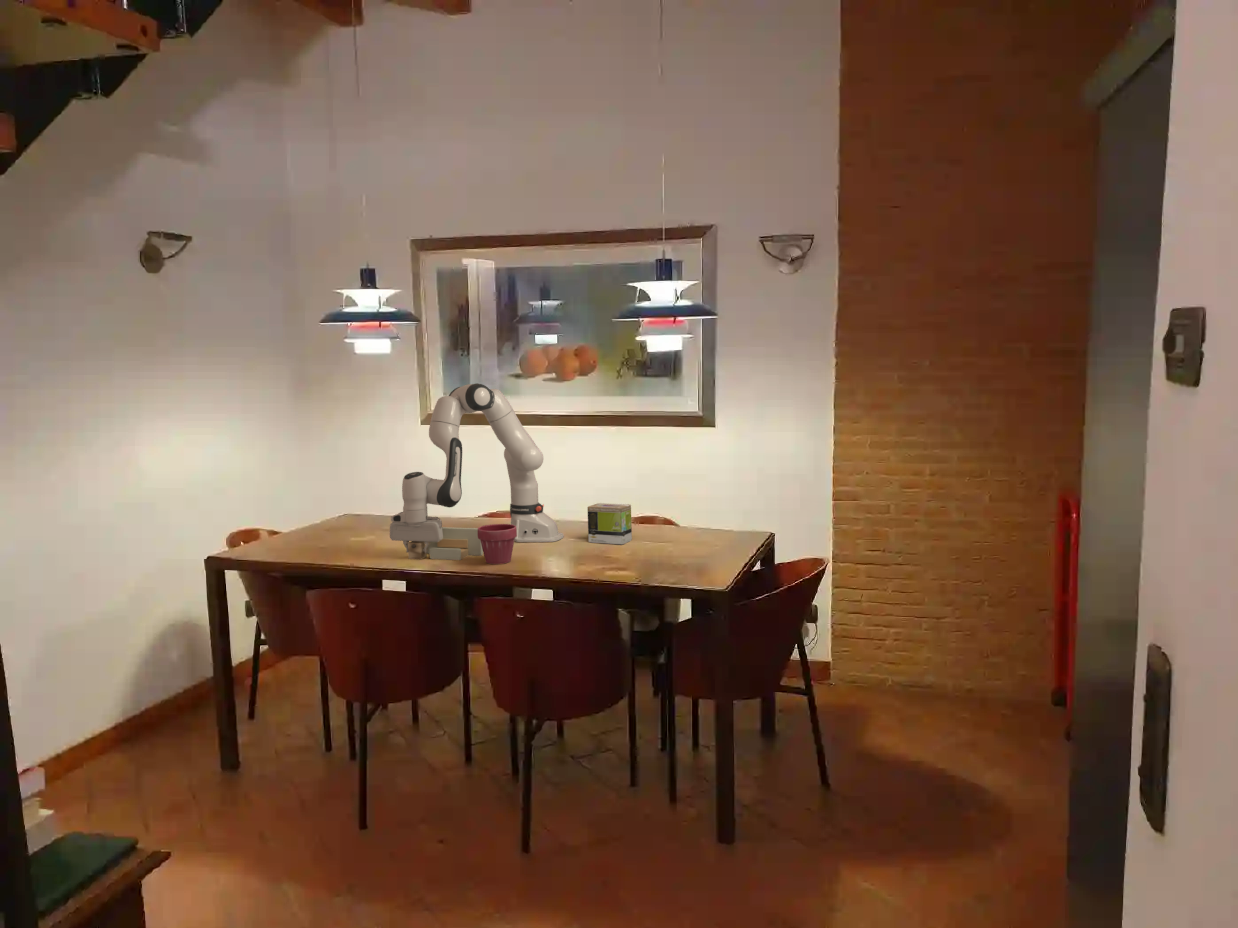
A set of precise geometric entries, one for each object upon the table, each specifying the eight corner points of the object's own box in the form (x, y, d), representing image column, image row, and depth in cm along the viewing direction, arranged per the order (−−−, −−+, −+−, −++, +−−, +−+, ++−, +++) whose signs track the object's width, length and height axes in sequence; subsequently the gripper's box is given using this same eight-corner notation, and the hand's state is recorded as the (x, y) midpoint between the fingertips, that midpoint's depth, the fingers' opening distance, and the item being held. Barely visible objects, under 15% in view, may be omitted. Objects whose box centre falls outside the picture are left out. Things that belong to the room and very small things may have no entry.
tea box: (632, 540, 372) (631, 503, 370) (622, 545, 363) (621, 508, 361) (598, 537, 378) (597, 501, 376) (587, 542, 369) (586, 505, 367)
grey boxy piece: (483, 554, 351) (482, 528, 350) (472, 560, 341) (471, 533, 340) (429, 552, 356) (427, 526, 355) (417, 558, 346) (416, 531, 345)
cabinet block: (426, 556, 349) (425, 540, 348) (419, 559, 344) (419, 543, 343) (413, 556, 350) (413, 540, 349) (407, 559, 345) (406, 543, 344)
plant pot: (480, 557, 346) (479, 523, 344) (518, 556, 347) (517, 522, 345) (477, 566, 331) (475, 531, 330) (516, 565, 332) (515, 530, 331)
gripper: (445, 515, 346) (446, 551, 348) (394, 513, 351) (396, 549, 353) (437, 518, 340) (439, 555, 342) (386, 517, 345) (388, 553, 346)
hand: (417, 552), depth 347 cm, fingers closed on cabinet block, 5 cm apart
